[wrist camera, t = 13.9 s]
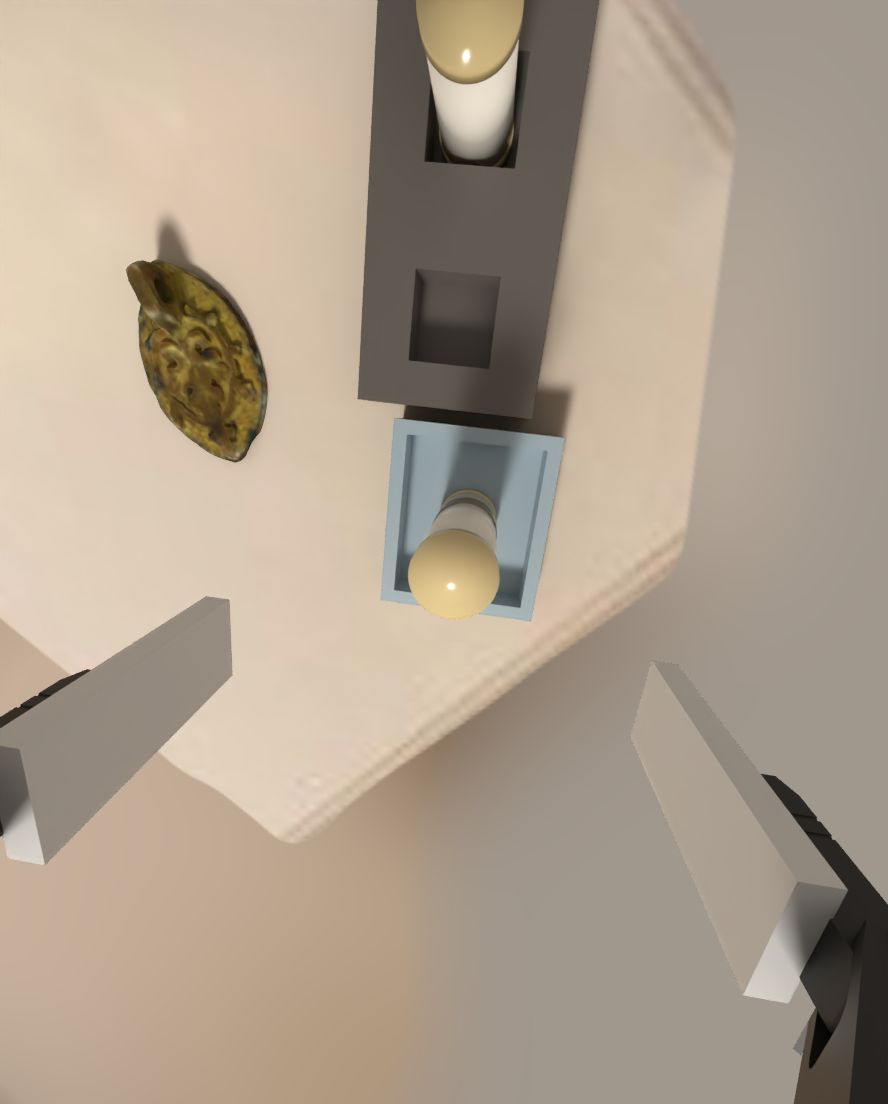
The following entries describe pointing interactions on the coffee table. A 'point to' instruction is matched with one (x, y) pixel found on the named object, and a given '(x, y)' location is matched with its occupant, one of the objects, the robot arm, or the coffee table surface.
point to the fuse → (472, 75)
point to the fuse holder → (467, 222)
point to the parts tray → (489, 467)
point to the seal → (199, 359)
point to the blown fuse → (458, 558)
